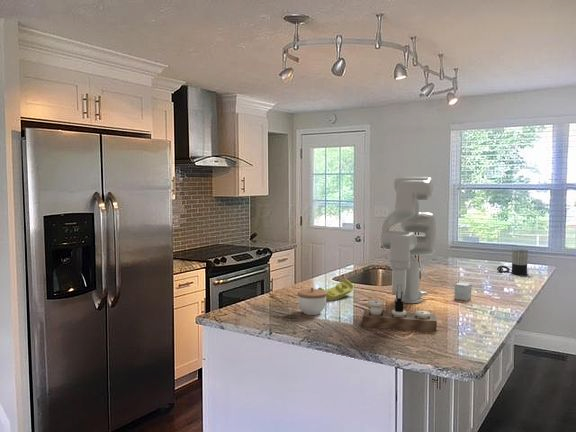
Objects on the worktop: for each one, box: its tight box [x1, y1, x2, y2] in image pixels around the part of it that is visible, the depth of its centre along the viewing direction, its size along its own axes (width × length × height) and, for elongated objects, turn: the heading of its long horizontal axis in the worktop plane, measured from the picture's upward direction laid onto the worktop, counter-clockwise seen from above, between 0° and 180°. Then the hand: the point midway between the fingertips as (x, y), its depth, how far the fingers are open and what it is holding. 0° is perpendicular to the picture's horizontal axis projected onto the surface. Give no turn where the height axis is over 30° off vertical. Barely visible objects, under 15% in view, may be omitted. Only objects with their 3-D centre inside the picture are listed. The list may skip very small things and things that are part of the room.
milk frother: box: [496, 248, 529, 276], centre depth 303 cm, size 14×16×15 cm
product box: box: [454, 281, 472, 302], centre depth 236 cm, size 6×6×7 cm
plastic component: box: [317, 278, 355, 302], centre depth 241 cm, size 20×7×10 cm
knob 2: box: [391, 309, 407, 317], centre depth 192 cm, size 6×6×5 cm
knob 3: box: [414, 310, 431, 319], centre depth 190 cm, size 6×6×5 cm
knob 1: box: [368, 300, 384, 316], centre depth 194 cm, size 6×6×5 cm
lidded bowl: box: [297, 287, 327, 316], centre depth 211 cm, size 13×13×11 cm
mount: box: [361, 309, 438, 332], centre depth 192 cm, size 28×10×4 cm, turn 76°
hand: (399, 311), depth 192 cm, fingers closed
